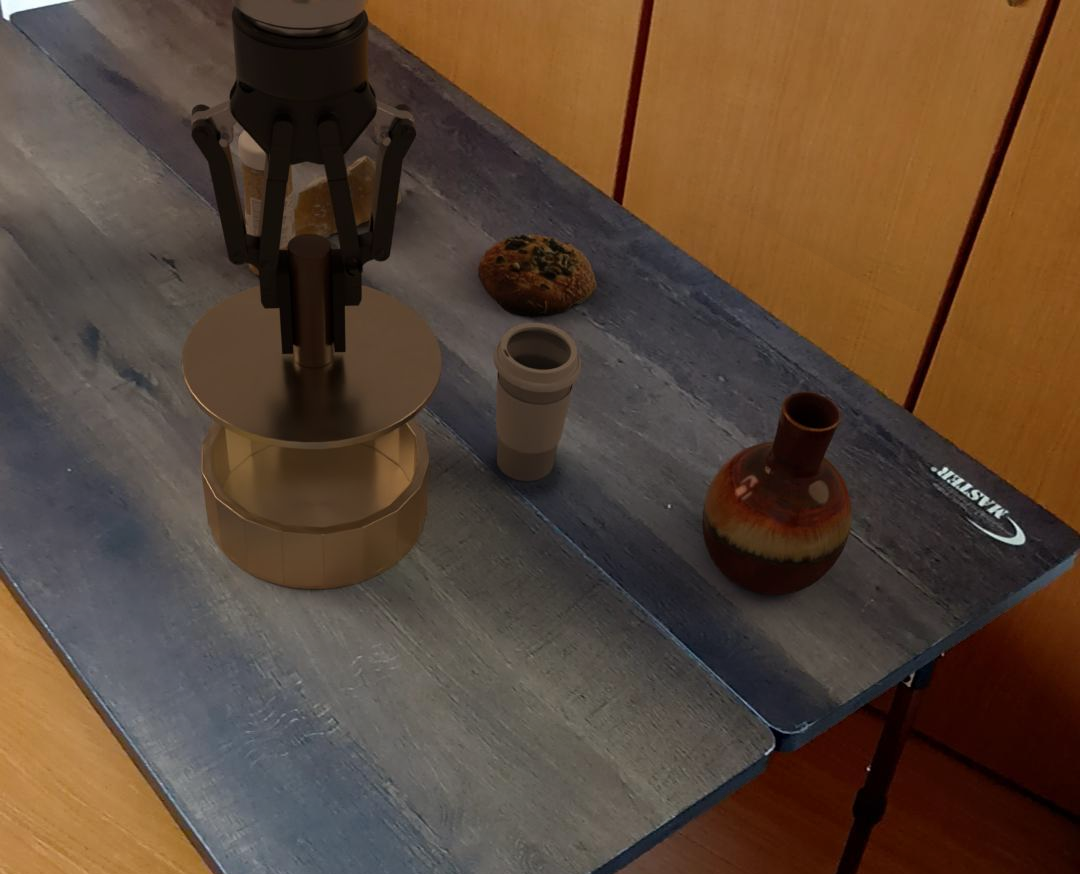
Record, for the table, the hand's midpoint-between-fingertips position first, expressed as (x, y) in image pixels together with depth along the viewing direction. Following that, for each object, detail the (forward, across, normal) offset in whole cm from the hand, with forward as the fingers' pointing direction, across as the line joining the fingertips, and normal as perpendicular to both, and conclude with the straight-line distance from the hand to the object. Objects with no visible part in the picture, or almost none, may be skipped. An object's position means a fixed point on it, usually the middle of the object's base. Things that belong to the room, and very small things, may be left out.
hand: (312, 340), depth 90 cm
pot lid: (+2, 0, 0) cm, 2 cm away
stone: (+13, +3, +41) cm, 43 cm away
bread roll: (+17, +22, +28) cm, 39 cm away
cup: (+17, +17, +4) cm, 24 cm away
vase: (+17, +34, -8) cm, 39 cm away
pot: (+17, 0, 0) cm, 17 cm away
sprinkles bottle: (+17, -2, +32) cm, 36 cm away
